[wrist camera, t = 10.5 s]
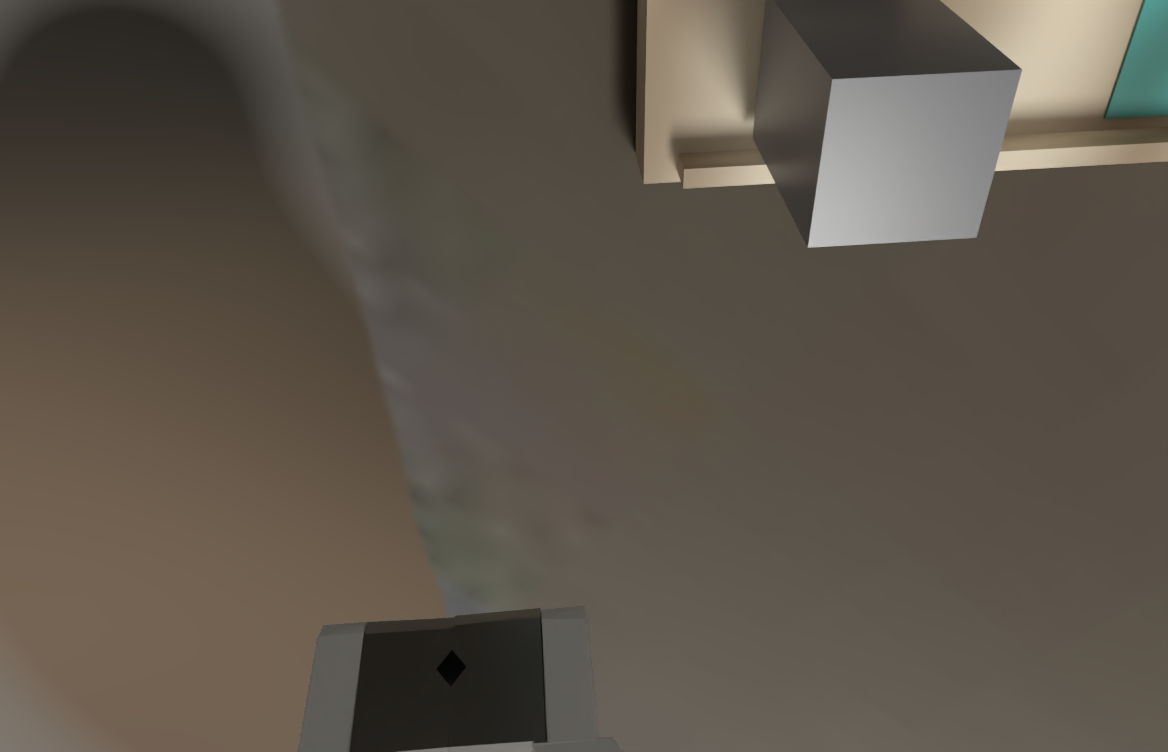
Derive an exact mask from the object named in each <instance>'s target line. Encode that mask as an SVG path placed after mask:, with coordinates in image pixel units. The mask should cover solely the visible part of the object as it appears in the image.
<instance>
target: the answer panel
mask: <svg viewBox="0 0 1168 752" xmlns="http://www.w3.org/2000/svg"><path fill="white" fill-rule="evenodd" d="M765 1H766V0H638V5H637V88H636V157H637V161H638V164H639V168H640V172H641V176H642V179H643V183H644V184H649V183H667V182H681V184H682V187H683V189H684V188H701V187H719V186H737V185H755V184H772V183H775V181H774V179H773V178H772V176H771V174H770V172H769V170H768V168H767V166H766V164H765V162H764V160H763V158H762V156H761V154H760V152H759V150H758V148H757V146H756V144H755V142H754V140H753V127H754V117H755V106H756V95H757V85H758V74H759V64H760V53H761V43H762V32H763V22H764V11H765ZM940 1H941V2H943V3H944V4H945V5H946V6H947V7H949V8H950V9H951V10H952V11H953V12H955V13H956V14H957V15H958V16H959V17H961V18H962V19H963V20H964V21H965V22H966V23H968V24H969V25H970V26H971V27H972V28H974V29H975V30H976V31H977V32H978V33H980V34H981V35H982V36H983V37H984V38H985V39H987V40H988V41H989V42H990V43H991V44H993V45H994V46H995V47H996V48H997V49H999V50H1000V51H1001V52H1002V53H1003V54H1004V55H1006V56H1007V57H1008V58H1009V59H1010V60H1012V61H1013V62H1014V63H1015V64H1016V65H1018V66H1019V67H1020V68H1021V69H1022V72H1021V76H1020V80H1019V83H1018V87H1017V91H1016V94H1015V98H1014V102H1013V105H1012V109H1011V113H1010V116H1009V120H1008V124H1007V127H1006V131H1005V135H1004V138H1003V142H1002V146H1001V149H1000V153H999V156H998V160H997V164H996V167H995V171H1002V170H1020V169H1038V168H1056V167H1073V166H1091V165H1109V164H1126V163H1144V162H1162V161H1168V0H940Z"/></svg>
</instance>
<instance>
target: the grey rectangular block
mask: <svg viewBox="0 0 1168 752" xmlns="http://www.w3.org/2000/svg"><path fill="white" fill-rule="evenodd" d="M1021 72H1022V69H1021V68H1020V67H1019V66H1018V65H1016V64H1015V63H1014V62H1013V61H1012V60H1010V59H1009V58H1008V57H1007V56H1006V55H1004V54H1003V53H1002V52H1001V51H1000V50H999V49H997V48H996V47H995V46H994V45H993V44H991V43H990V42H989V41H988V40H987V39H985V38H984V37H983V36H982V35H981V34H980V33H978V32H977V31H976V30H975V29H974V28H972V27H971V26H970V25H969V24H968V23H966V22H965V21H964V20H963V19H962V18H961V17H959V16H958V15H957V14H956V13H955V12H953V11H952V10H951V9H950V8H949V7H947V6H946V5H945V4H944V3H943V2H941V1H940V0H766V1H765V11H764V22H763V32H762V43H761V53H760V64H759V74H758V85H757V95H756V106H755V117H754V127H753V140H754V142H755V144H756V146H757V148H758V150H759V152H760V154H761V156H762V158H763V160H764V162H765V164H766V166H767V168H768V170H769V172H770V174H771V176H772V178H773V179H774V181H775V183H776V185H777V187H778V189H779V191H780V193H781V195H782V197H783V199H784V201H785V203H786V205H787V207H788V209H789V211H790V213H791V215H792V217H793V219H794V221H795V223H796V225H797V227H798V229H799V231H800V233H801V235H802V237H803V239H804V241H805V243H806V245H807V247H808V248H810V247H826V246H843V245H860V244H877V243H894V242H910V241H927V240H944V239H961V238H976V237H977V233H978V230H979V226H980V222H981V219H982V215H983V211H984V208H985V204H986V200H987V197H988V193H989V189H990V186H991V182H992V178H993V175H994V171H995V167H996V164H997V160H998V156H999V153H1000V149H1001V146H1002V142H1003V138H1004V135H1005V131H1006V127H1007V124H1008V120H1009V116H1010V113H1011V109H1012V105H1013V102H1014V98H1015V94H1016V91H1017V87H1018V83H1019V80H1020V76H1021Z"/></svg>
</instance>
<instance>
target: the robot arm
mask: <svg viewBox="0 0 1168 752" xmlns="http://www.w3.org/2000/svg"><path fill="white" fill-rule="evenodd" d="M541 617H542V622H541ZM297 752H623V750H622V749H621V748H620V747H619V745H618V744H617V743H616V742H615V740H614V739H613V738H612V737H608V738H599V733H598V722H597V712H596V701H595V691H594V680H593V670H592V659H591V649H590V639H589V628H588V618H587V612H586V609H585V606H576V607H565V608H554V609H543V610H542V611H540V608H538V609H526V610H515V611H504V612H493V613H481V614H470V615H459V616H455V617H453V618H436V619H417V620H399V621H379V622H358V623H344V624H331V625H323V627H322V629H321V632H320V633H319V636H318V638H317V641H316V647H315V652H314V658H313V664H312V670H311V675H310V681H309V686H308V693H307V698H306V704H305V710H304V715H303V721H302V727H301V733H300V738H299V744H298V749H297Z"/></svg>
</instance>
